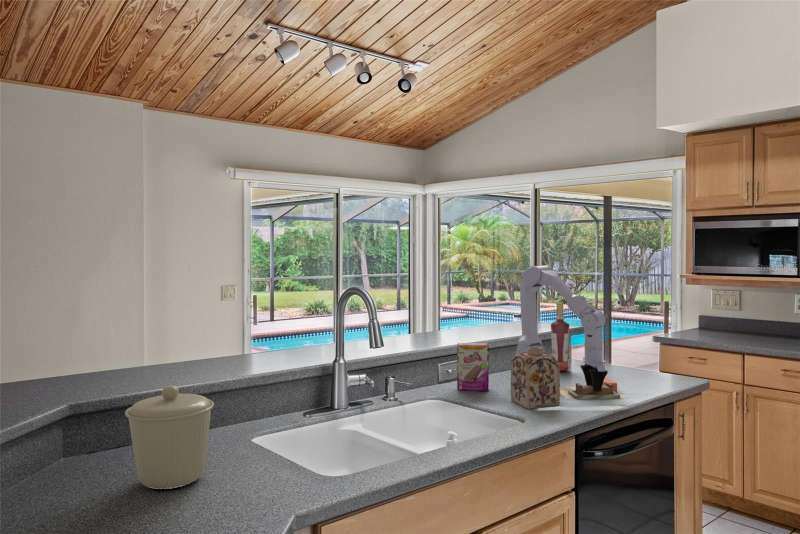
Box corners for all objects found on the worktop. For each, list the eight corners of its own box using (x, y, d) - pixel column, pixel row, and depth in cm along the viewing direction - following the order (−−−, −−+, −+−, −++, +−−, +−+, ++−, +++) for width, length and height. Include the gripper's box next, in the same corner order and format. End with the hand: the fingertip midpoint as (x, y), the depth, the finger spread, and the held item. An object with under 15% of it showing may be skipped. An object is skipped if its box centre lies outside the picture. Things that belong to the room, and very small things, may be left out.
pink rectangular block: (606, 392, 198) (606, 383, 198) (598, 386, 206) (597, 378, 206) (617, 391, 198) (617, 383, 198) (608, 386, 206) (608, 377, 206)
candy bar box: (457, 391, 207) (456, 344, 206) (457, 388, 212) (456, 342, 211) (489, 391, 206) (488, 345, 205) (488, 388, 211) (488, 342, 210)
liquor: (570, 373, 234) (569, 303, 233) (551, 372, 236) (550, 302, 235) (569, 369, 241) (568, 301, 241) (550, 368, 243) (550, 301, 242)
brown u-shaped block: (579, 397, 191) (579, 385, 191) (575, 394, 195) (575, 383, 195) (613, 396, 191) (613, 385, 191) (608, 393, 195) (608, 382, 195)
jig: (567, 402, 189) (567, 396, 189) (552, 390, 206) (552, 384, 206) (628, 401, 190) (628, 394, 190) (609, 389, 206) (609, 383, 206)
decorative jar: (560, 406, 185) (560, 349, 184) (527, 410, 182) (527, 352, 181) (541, 397, 196) (541, 344, 196) (510, 400, 193) (509, 346, 193)
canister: (187, 460, 141) (185, 373, 141) (232, 478, 130) (230, 383, 129) (111, 484, 127) (109, 388, 127) (153, 506, 116) (151, 400, 115)
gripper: (614, 351, 186) (614, 394, 186) (597, 344, 200) (597, 383, 201) (592, 351, 186) (592, 394, 186) (577, 344, 200) (577, 384, 200)
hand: (593, 388), depth 193 cm, fingers open, 6 cm apart
